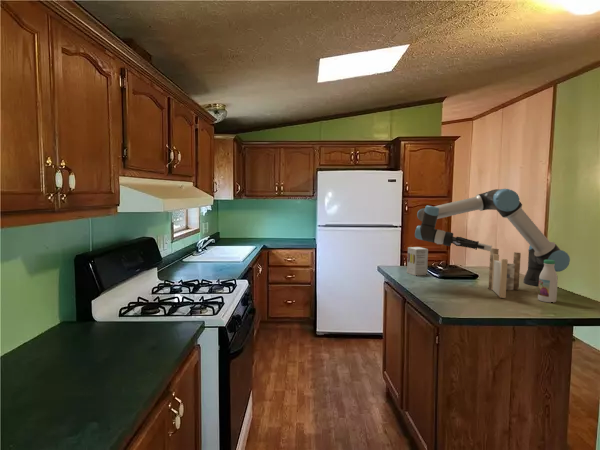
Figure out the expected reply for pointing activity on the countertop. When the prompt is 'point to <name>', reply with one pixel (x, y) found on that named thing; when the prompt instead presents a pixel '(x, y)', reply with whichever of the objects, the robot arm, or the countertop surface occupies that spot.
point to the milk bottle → (548, 282)
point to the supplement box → (417, 261)
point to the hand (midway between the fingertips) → (491, 248)
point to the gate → (499, 276)
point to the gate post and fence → (512, 269)
